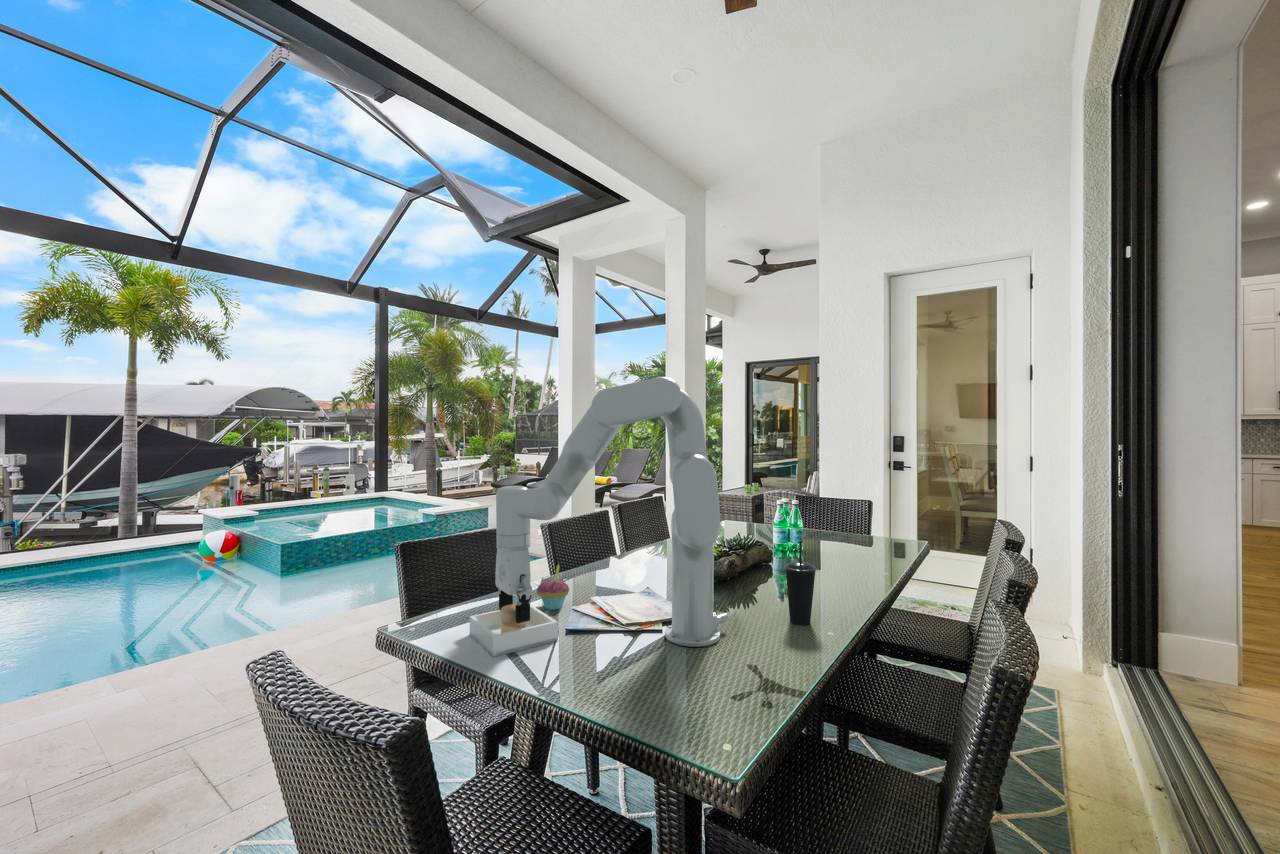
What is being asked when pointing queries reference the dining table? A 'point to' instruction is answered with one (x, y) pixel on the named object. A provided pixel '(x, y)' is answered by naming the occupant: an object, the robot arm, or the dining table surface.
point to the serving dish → (512, 632)
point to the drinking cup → (800, 589)
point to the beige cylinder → (510, 619)
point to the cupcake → (553, 592)
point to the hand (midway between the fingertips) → (514, 615)
